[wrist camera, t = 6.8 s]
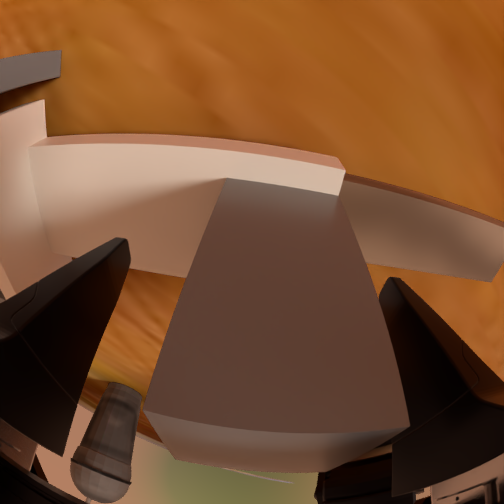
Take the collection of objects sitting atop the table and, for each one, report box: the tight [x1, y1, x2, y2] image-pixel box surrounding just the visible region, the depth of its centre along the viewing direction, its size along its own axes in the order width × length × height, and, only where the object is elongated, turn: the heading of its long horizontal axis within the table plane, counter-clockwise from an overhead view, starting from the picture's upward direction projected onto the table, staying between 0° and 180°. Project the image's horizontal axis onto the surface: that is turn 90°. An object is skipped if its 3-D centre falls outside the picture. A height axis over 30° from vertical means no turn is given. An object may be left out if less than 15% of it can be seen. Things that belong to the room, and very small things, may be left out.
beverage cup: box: [70, 382, 142, 504], centre depth 21 cm, size 7×7×20 cm
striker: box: [0, 99, 410, 473], centre depth 8 cm, size 10×15×10 cm, turn 83°
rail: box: [339, 173, 504, 282], centre depth 13 cm, size 4×16×1 cm, turn 83°
